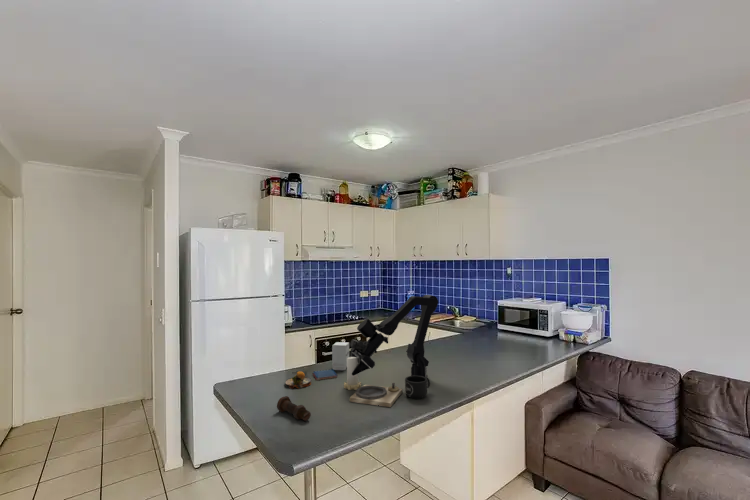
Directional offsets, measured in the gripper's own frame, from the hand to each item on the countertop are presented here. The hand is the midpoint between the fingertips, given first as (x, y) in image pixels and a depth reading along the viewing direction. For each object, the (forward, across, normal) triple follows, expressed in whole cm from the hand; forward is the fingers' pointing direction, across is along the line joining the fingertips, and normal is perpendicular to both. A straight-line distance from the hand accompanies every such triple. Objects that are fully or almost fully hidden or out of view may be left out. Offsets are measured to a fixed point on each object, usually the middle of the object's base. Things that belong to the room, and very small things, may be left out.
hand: (349, 372), depth 159 cm
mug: (-12, +20, +22) cm, 32 cm away
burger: (+20, -13, -9) cm, 25 cm away
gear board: (0, +15, +10) cm, 18 cm away
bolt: (+24, +20, -14) cm, 34 cm away
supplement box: (+2, -29, +8) cm, 30 cm away
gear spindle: (+4, 0, +6) cm, 7 cm away
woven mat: (+10, -20, 0) cm, 22 cm away
